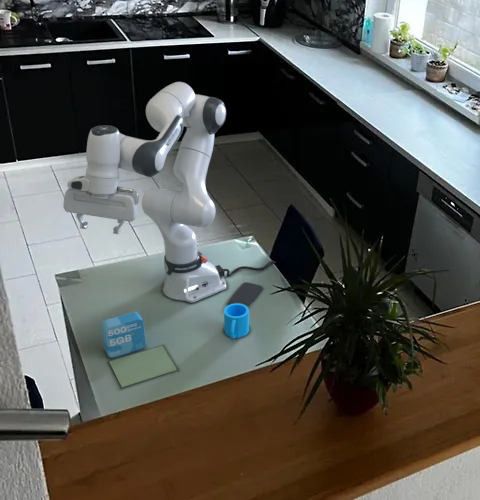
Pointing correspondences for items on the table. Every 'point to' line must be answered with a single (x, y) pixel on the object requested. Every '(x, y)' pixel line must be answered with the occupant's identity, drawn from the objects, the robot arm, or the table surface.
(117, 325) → the data package
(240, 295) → the phone
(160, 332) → the table surface
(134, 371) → the mat
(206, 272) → the robot arm
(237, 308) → the mug
